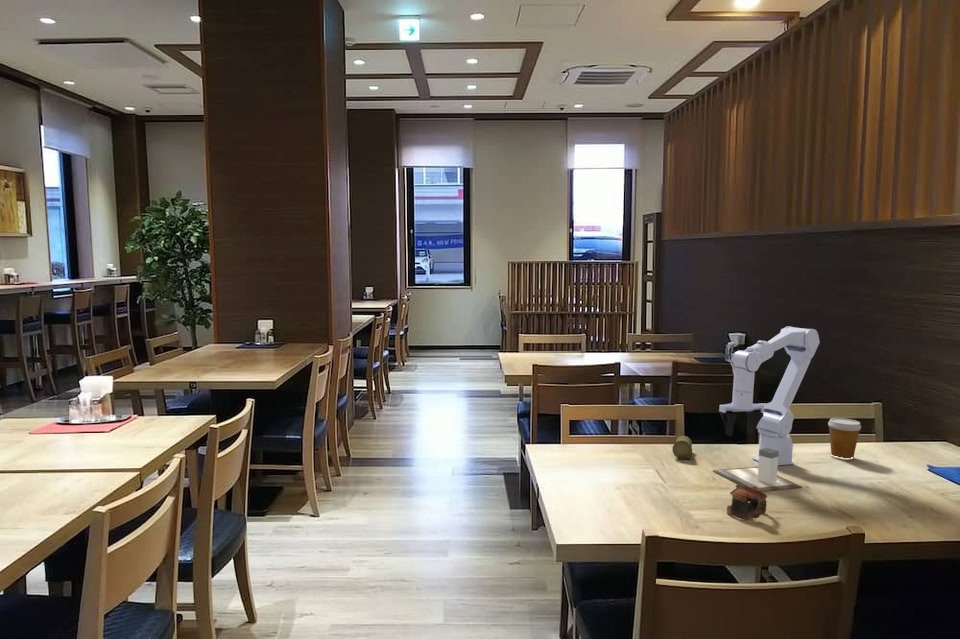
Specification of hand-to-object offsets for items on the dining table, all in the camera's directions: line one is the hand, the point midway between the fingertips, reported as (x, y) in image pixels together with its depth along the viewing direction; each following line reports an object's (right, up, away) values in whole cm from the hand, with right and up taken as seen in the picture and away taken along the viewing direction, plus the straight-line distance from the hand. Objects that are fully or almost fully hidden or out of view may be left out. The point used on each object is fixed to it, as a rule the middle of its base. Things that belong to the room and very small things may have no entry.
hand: (739, 434), depth 200 cm
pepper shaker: (-15, -6, +8) cm, 18 cm away
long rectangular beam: (+3, -11, -12) cm, 17 cm away
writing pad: (+1, -11, -9) cm, 14 cm away
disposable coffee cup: (+39, -10, +15) cm, 43 cm away
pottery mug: (-12, -14, -36) cm, 40 cm away
